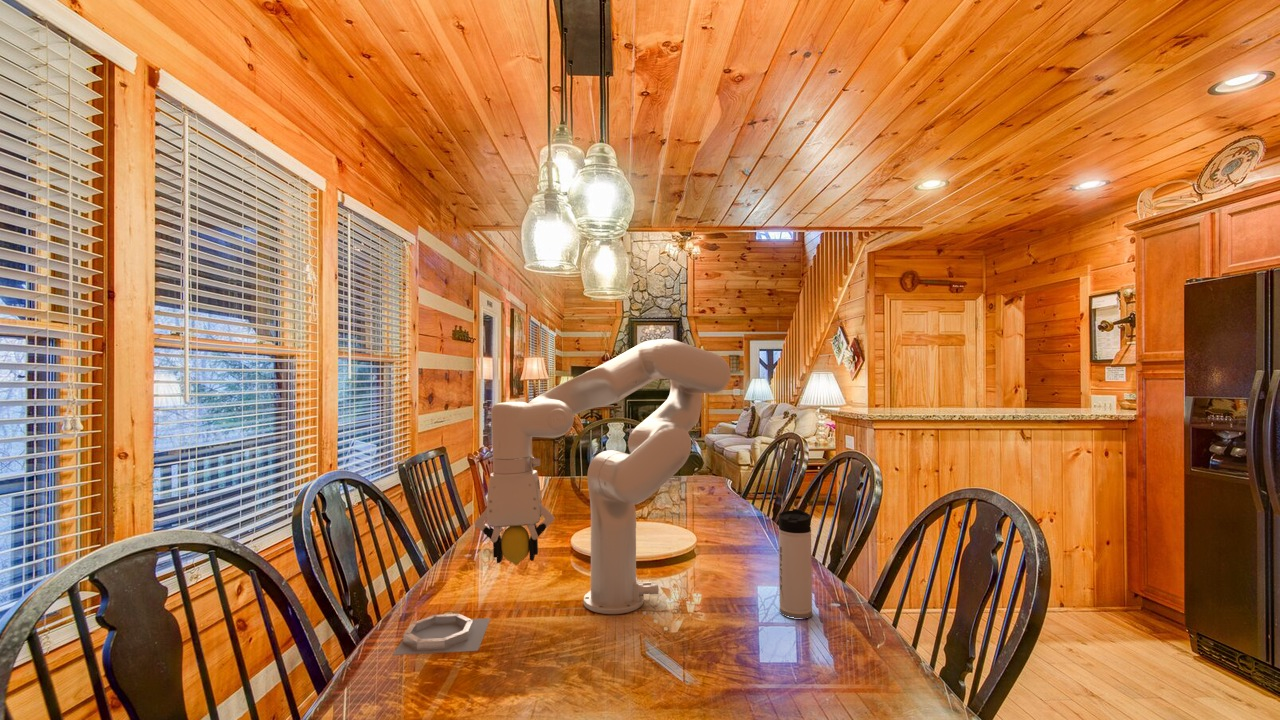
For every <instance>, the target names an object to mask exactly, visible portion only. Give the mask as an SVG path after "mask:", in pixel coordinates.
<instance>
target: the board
mask: <svg viewBox="0 0 1280 720" xmlns="http://www.w3.org/2000/svg"><path fill="white" fill-rule="evenodd" d="M471 619H472V620H473V630H472V632H471V634H470V636H469V639H468V640H467V641H464V642H462V643H459V644H457V645H454V646H452V647H450V648H447V649H445V650H425V651H416V650H415V649H413V648H411V647H410V646H408V645H406V644H404V643H403V639H402V640H401V641H400V643H399V644H398V646H397V647H396V648H395V650H394V652H393V653H392V656H401V655H423V654H440V653H441V654H442V653H443V654H446V653H462V652H463V653H465V652H479V649H480V647H481V644H482V641H483V639H484V637H485V634H486V632H487V629H488V628H489V627H488V626H489V624H490V622H491V617H486V618H471ZM463 629H464V628H463V627H461V626H458V625H456V624H447V625H434V626H431V627H428V628H426V629H423V630H420V631H418V632H416V633H415V636H417V637H418V638H420V639H433V638H445V637H448V636H450V635H453V634H455V633H458V632H460V631H463Z"/></svg>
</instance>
